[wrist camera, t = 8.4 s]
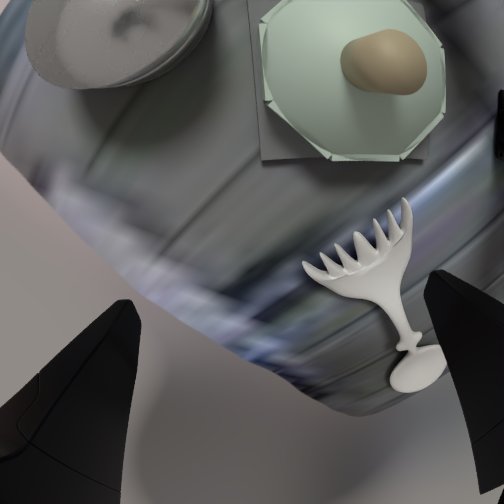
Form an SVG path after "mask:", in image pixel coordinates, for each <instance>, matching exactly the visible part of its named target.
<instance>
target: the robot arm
mask: <svg viewBox="0 0 504 504" xmlns="http://www.w3.org/2000/svg"><path fill="white" fill-rule="evenodd" d="M495 155H496V158H498V159H500V160H504V90H500V92H499V120H498V134H497V144H496V152H495ZM424 300H425V303H426V305H427V308H428V311H429V314H430V317H431V320H432V323H433V327H434V330H435V333H436V336H437V339H438V341H439V344H440V347H441V349H442V352H443V354H444V357H445V359H446V362H447V365H448V368H449V370H450V373H451V376H452V378H453V382H454V385H455V388H456V390H457V394H458V397H459V400H460V403H461V407H462V410H463V414H464V417H465V421H466V425H467V429H468V433H469V437H470V441H471V444H472V445H471V446H472V450H473V456H474V460H475V466H476V472H477V478H478V485H479V492H480V494H484V493H486V492H488V491H491V490H493V489H495V488H497V487H499V486H501V485H503V484H504V304H503V303H501V302H499V301H498V300H496V299H494V298H493V297H491V296H489V295H488V294H486V293H484V292H482V291H481V290H479V289H477V288H475V287H474V286H472V285H470V284H468V283H467V282H465V281H463V280H461V279H459V278H457V277H456V276H454V275H452V274H450V273H448V272H446V271H445V270H442V269H440V270H434V271H432V272H431V273H430V274H429V277H428V280H427V283H426V286H425V289H424ZM140 335H141V320H140V317H139V315H138V313H137V310H136V308H135V306H134V304H133V302H132V301H131V300H129V299H124V300H117V301H116V302H115V303H114V304H113V305H111V306H110V307H109V308H108V309H107V310H106V311H105V312H103V313H102V314H101V315H100V316H99V317H98V318H97V319H95V320H94V321H93V322H92V323H91V324H90V325H89V326H88V327H87V328H85V329H84V330H83V331H82V332H81V333H80V334H79V335H78V336H77V337H75V338H74V339H73V340H72V341H71V342H70V343H69V344H68V345H67V346H66V347H65V348H63V349H62V350H61V351H60V352H59V353H58V354H57V355H56V356H55V357H54V358H53V359H52V360H51V361H50V362H49V363H48V364H47V365H46V366H44V367H43V368H42V369H41V370H40V372H39V373H37V374H36V375H35V376H34V377H33V378H32V379H31V380H30V381H29V382H28V383H27V384H26V385H25V386H24V387H23V388H22V389H21V390H20V391H19V392H17V393H16V394H15V395H14V396H13V397H12V398H11V399H9V400H8V401H7V402H6V403H5V404H4V405H3V406H2V407H0V504H120V497H121V492H120V491H121V481H122V470H123V460H124V451H125V443H126V434H127V428H128V421H129V414H130V408H131V402H132V396H133V390H134V385H135V380H136V373H137V366H138V354H139V345H140ZM498 504H504V489H503V491H502V494H501V496H500V499H499V502H498Z"/></svg>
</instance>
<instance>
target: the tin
mask: <svg viewBox="0 0 504 504" xmlns="http://www.w3.org/2000/svg"><path fill="white" fill-rule="evenodd" d="M212 11H213V0H33V3H32V5H31V7H30V10H29V13H28V17H27V21H26V27H25V47H26V52H27V56H28V58H29V61H30V63H31V65H32V67H33V68H34V70H35V71H36V72H37V73H38V74H39V76H40V77H42V78H43V79H44V80H46V81H47V82H49V83H51V84H53V85H55V86H58V87H61V88H66V89H91V88H116V87H125V86H132V85H137V84H142V83H145V82H148V81H151V80H153V79H155V78H158V77H160V76H162V75H163V74H165V73H167V72H169V71H170V70H172V69H173V68H175V67H176V66H178V65H179V64H180V63H181V62H182V61H183V60H185V59H186V58H187V57H188V56H189V55H190V54H191V53H192V52H193V50H194V49H195V48H196V47H197V45H198V44H199V43H200V41H201V39H202V38H203V36H204V35H205V33H206V30H207V28H208V26H209V23H210V20H211V17H212Z"/></svg>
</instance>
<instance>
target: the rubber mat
mask: <svg viewBox="0 0 504 504" xmlns="http://www.w3.org/2000/svg"><path fill="white" fill-rule="evenodd" d="M280 1H282V0H247V6H248V16H249V26H250V37H251V47H252V58H253V69H254V81H255V93H256V105H257V117H258V129H259V142H260V156H261V160H274V159H291V158H315V157H324V156H323V155H322V154H321V153H320V152H319V151H317V150H316V149H315V148H314V147H313V146H312V145H311V144H310V143H309V142H308V141H307V140H306V139H305V138H304V137H302V136H301V135H300V134H299V133H298V132H297V131H296V130H295V129H294V128H292V127H291V126H290V125H289V124H288V123H287V122H286V121H285V120H283V119H282V118H281V117H280V116H279V115H278V114H276V113H275V112H274V111H273V110H272V109H270V108H269V107H268V106H267V105H266V104H265V103H266V102H267V101H265V100H263V99H262V86H261V74H260V63H259V51H258V41H257V28H258V24H259V23H260V19H261V18H262V17H263V16H264V15H266V14H267V13H268V12H269V11H270V10H271V9H272V8H273V7H275V6H276V5H277V4H278V3H279V2H280ZM406 1H407V2H408V3H409V4H410V5H411V6H412V7H413V8H414V10H415V11H416V12H417V13H418V14H419V15H420V17H421V18H422V19H423V20H424V21H425V23H426V20H425V13H424V7H423V5H422V4H419V3H416V2H413V1H410V0H406ZM428 143H429V133H428V134H427V135H426V137H425V138H424V139H423V140H422V141H421V142H420V143H419V144H418V145H417V146H416V147H415V148H414V149H413V150H412V151H411V152H410V153H409V154H408V155H407V156H406V157H405V158H410V159H426V160H427V154H428Z"/></svg>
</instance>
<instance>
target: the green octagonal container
mask: <svg viewBox="0 0 504 504" xmlns="http://www.w3.org/2000/svg"><path fill="white" fill-rule="evenodd" d="M257 41H258V51H259V63H260V74H261V86H262V99H263V100H265V101H267V102H266V103H265V104H266V105H267V106H268V107H269V108H270V109H272V110H273V111H274V112H275V113H276V114H278V115H279V116H280V117H281V118H282V119H283V120H285V121H286V122H287V123H288V124H289V125H290V126H291V127H292V128H294V129H295V130H296V131H297V132H298V133H299V134H300V135H301V136H302V137H304V138H305V139H306V140H307V141H308V142H309V143H310V144H311V145H312V146H313V147H314V148H315V149H316V150H317V151H319V152H320V153H321V154H322V155H323V156H324V157H326V158H327V159H328V158H329V159H330V160H332V161H395V162H399V158H400V159H402V160H403V159H404V158H405V157H406V156H407V155H408V154H409V153H410V152H411V151H412V150H413V149H414V148H415V147H416V146H417V145H418V144H419V143H420V142H421V141H422V140H423V139H424V138H425V137H426V135H427V134H428V133H429V132H430V131H431V130H432V129H433V128H434V127H435V126H436V125H437V124H438V123H439V122H440V120H441V119H442V118H443V117H444V116H443V114H442V113H441V112H444V113H445V109H446V75H445V55H444V49H443V48H440V47H441V46H442V44H441V42H440V41H439V39H438V38H437V37H436V35H435V34H434V33H433V31H432V30H431V29H430V28H429V26H428V25H427V24H426V23H425V21H424V20H423V19H422V18H421V17H420V15H419V14H418V13H417V12H416V11H415V10H414V8H413V7H412V6H411V5H410V4H409V3H408V2H407V1H406V0H282V1H280V2H279V3H278V4H277V5H276V6H275V7H273V8H272V9H271V10H270V11H269V12H268V13H267V14H266V15H264V16H263V17H262V18H261V19H260V23H259V24H258V28H257Z"/></svg>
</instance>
